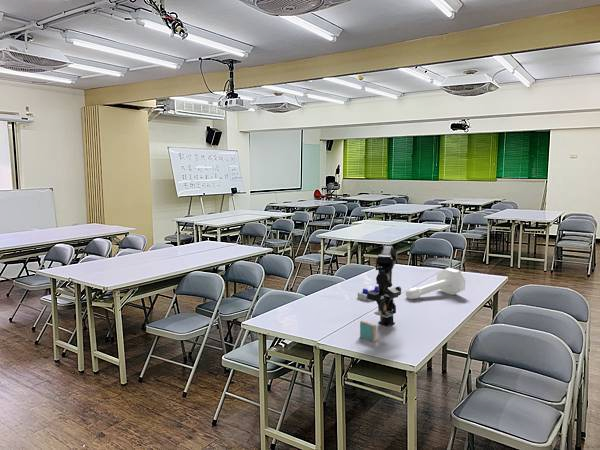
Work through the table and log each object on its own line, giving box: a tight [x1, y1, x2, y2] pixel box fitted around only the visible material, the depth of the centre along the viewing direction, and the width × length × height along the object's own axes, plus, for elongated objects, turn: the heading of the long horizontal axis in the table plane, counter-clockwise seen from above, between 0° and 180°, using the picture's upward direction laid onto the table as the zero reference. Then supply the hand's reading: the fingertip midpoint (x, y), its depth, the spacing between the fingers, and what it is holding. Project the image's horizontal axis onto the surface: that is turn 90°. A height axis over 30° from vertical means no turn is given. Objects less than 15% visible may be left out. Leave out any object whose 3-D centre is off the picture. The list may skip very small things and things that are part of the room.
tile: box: [359, 320, 377, 343], centre depth 224 cm, size 9×2×8 cm, turn 36°
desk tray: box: [357, 288, 375, 302], centre depth 296 cm, size 10×18×4 cm, turn 126°
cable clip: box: [362, 285, 378, 295], centre depth 296 cm, size 12×4×6 cm, turn 123°
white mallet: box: [405, 267, 466, 300], centre depth 296 cm, size 24×18×35 cm
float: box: [373, 303, 394, 318], centre depth 229 cm, size 8×5×6 cm, turn 38°
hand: (383, 310), depth 229 cm, fingers closed on float, 2 cm apart
